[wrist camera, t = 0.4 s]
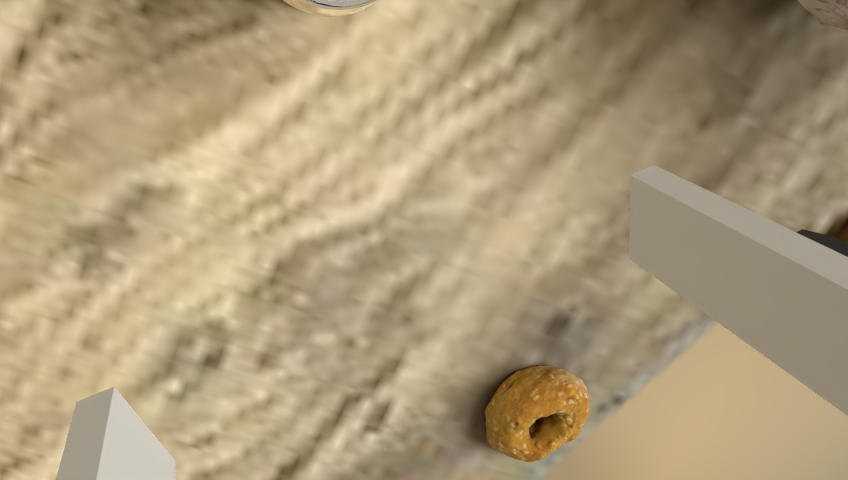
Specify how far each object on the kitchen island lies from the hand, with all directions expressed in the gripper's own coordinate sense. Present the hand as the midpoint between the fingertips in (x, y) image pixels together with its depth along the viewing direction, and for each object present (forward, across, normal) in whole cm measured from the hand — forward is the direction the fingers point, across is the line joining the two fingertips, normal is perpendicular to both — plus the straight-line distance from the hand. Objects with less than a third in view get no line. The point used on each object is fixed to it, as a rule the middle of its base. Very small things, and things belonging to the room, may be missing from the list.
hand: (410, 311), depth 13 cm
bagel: (+22, +12, -35) cm, 43 cm away
